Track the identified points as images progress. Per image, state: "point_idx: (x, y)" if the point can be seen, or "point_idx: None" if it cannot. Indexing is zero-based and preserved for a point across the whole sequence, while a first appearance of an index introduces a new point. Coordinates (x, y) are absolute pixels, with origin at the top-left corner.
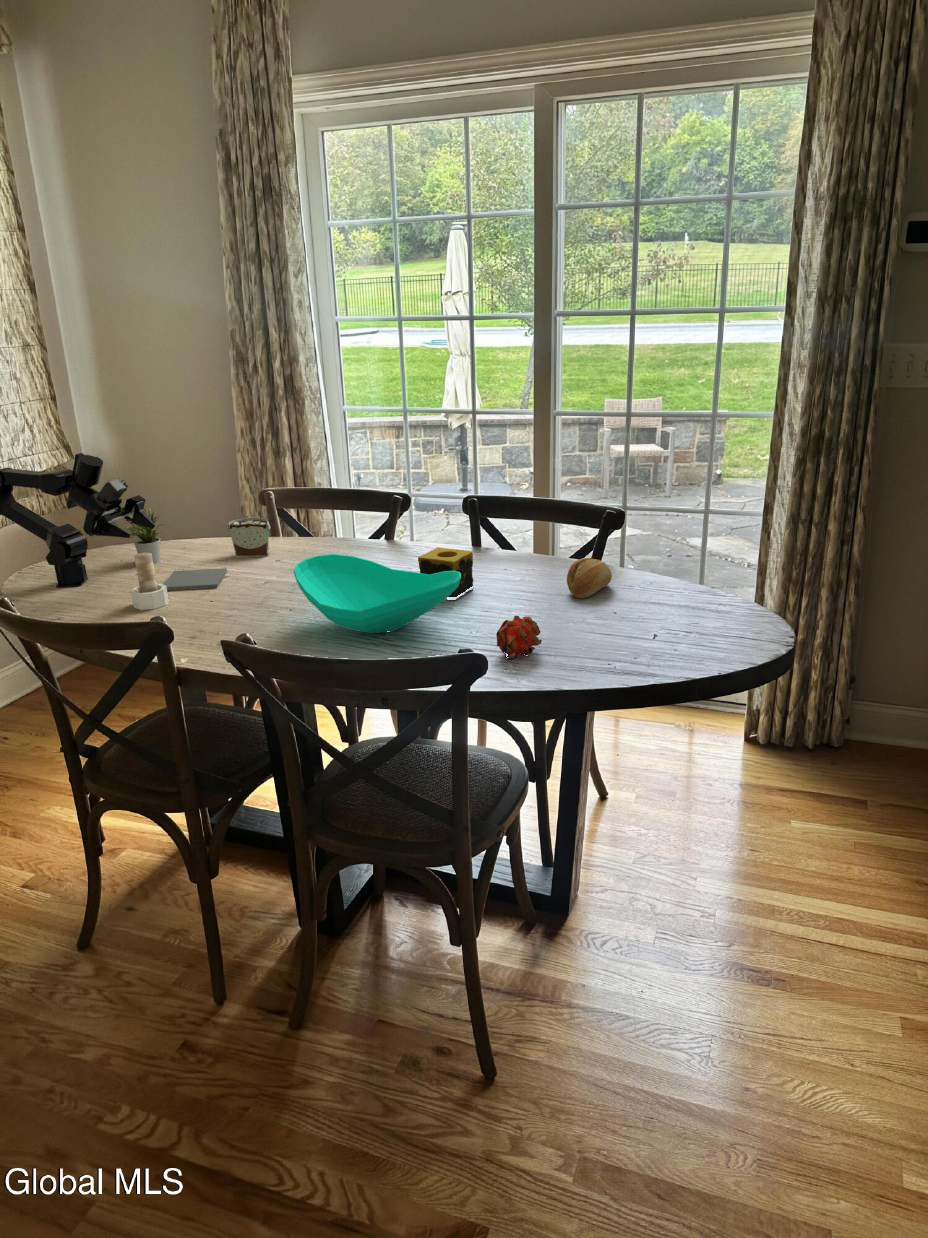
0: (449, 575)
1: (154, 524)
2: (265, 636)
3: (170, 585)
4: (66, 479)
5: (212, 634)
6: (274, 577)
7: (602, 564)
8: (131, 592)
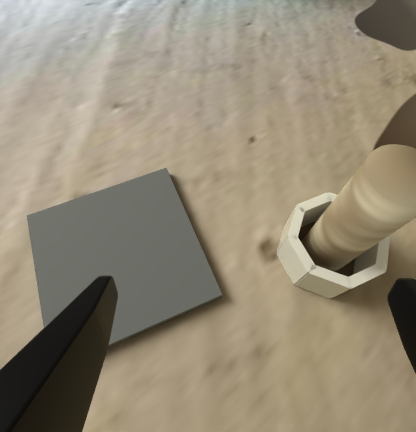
0: None
1: (101, 277)
2: (352, 12)
3: (199, 277)
4: None
5: (387, 63)
6: (80, 106)
7: None
8: (385, 270)
